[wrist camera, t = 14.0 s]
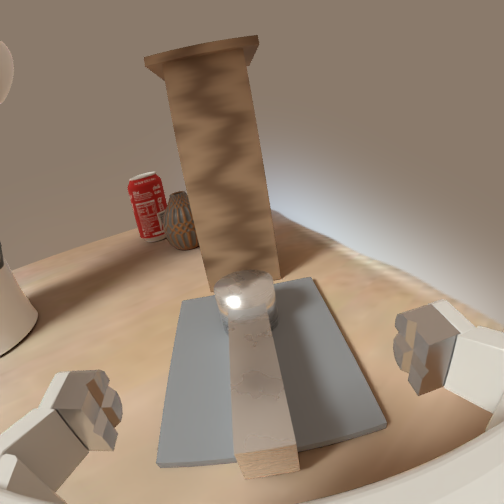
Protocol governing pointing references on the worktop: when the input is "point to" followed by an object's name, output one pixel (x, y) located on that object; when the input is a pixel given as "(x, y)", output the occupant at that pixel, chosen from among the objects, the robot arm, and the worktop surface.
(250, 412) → the steel link
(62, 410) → the robot arm
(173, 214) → the vase
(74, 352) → the worktop surface
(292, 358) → the slate mat
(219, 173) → the brown boxy piece
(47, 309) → the worktop surface
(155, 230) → the beverage can
